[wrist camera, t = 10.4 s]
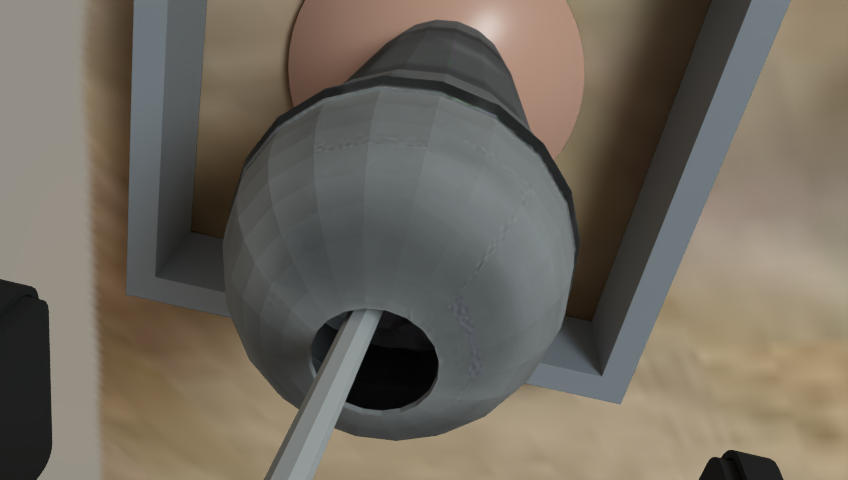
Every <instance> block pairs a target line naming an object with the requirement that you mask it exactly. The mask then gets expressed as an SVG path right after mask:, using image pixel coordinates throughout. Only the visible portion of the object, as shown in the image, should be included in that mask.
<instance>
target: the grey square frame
mask: <svg viewBox="0 0 848 480" xmlns="http://www.w3.org/2000/svg"><path fill="white" fill-rule="evenodd" d="M790 1H791V0H712V1H711V4H710V6H709V9H708V12H707V14H706V17H705V20H704V22H703V25H702V28H701V30H700V33H699V36H698V38H697V41H696V44H695V46H694V49H693V52H692V54H691V57H690V60H689V63H688V65H687V68H686V71H685V73H684V76H683V79H682V81H681V84H680V87H679V89H678V92H677V95H676V97H675V100H674V103H673V105H672V108H671V111H670V113H669V116H668V119H667V121H666V124H665V127H664V129H663V132H662V135H661V137H660V140H659V143H658V145H657V148H656V151H655V153H654V156H653V159H652V161H651V164H650V167H649V169H648V172H647V175H646V178H645V180H644V183H643V186H642V188H641V191H640V194H639V196H638V199H637V202H636V204H635V207H634V210H633V212H632V215H631V218H630V220H629V223H628V226H627V228H626V231H625V234H624V236H623V239H622V242H621V244H620V247H619V250H618V252H617V255H616V258H615V260H614V263H613V266H612V268H611V271H610V274H609V276H608V279H607V282H606V285H605V287H604V290H603V293H602V295H601V298H600V301H599V303H598V306H597V309H596V311H595V314H594V317H593V319H592V322H591V321H587V320H582V319H578V318H573V317H569V316H565V315H564V319H563V322H562V326H561V328H560V330H559V332H558V333H557V335H556V337H555V338H554V340H553V342H552V343H551V345H550V347H549V348H548V350H547V352H546V353H545V355H544V357H543V358H542V360H541V362H540V363H539V365H538V367H537V368H536V370H535V371H534V373H533V374H532V376H531V377H530V379H529V380H528V381H527V382H526V384H531V385H535V386H540V387H544V388H549V389H553V390H558V391H562V392H567V393H571V394H576V395H580V396H585V397H589V398H594V399H598V400H603V401H607V402H612V403H616V404H621V402H622V400H623V397H624V395H625V393H626V390H627V388H628V385H629V383H630V381H631V378H632V376H633V374H634V371H635V369H636V366H637V364H638V362H639V359H640V357H641V355H642V352H643V350H644V347H645V345H646V343H647V340H648V338H649V336H650V333H651V331H652V328H653V326H654V324H655V321H656V319H657V317H658V314H659V312H660V309H661V307H662V305H663V302H664V300H665V298H666V295H667V293H668V290H669V288H670V286H671V283H672V281H673V279H674V276H675V274H676V271H677V269H678V267H679V264H680V262H681V260H682V257H683V255H684V253H685V250H686V248H687V245H688V243H689V241H690V238H691V236H692V234H693V231H694V229H695V226H696V224H697V222H698V219H699V217H700V215H701V212H702V210H703V207H704V205H705V203H706V200H707V198H708V196H709V193H710V191H711V188H712V186H713V184H714V181H715V179H716V177H717V174H718V172H719V169H720V167H721V165H722V162H723V160H724V158H725V155H726V153H727V150H728V148H729V146H730V143H731V141H732V139H733V136H734V134H735V131H736V129H737V127H738V124H739V122H740V120H741V117H742V115H743V113H744V110H745V108H746V105H747V103H748V101H749V98H750V96H751V94H752V91H753V89H754V86H755V84H756V82H757V79H758V77H759V75H760V72H761V70H762V67H763V65H764V63H765V60H766V58H767V56H768V53H769V51H770V48H771V46H772V44H773V41H774V39H775V37H776V34H777V32H778V29H779V27H780V25H781V22H782V20H783V18H784V15H785V13H786V10H787V8H788V6H789V3H790ZM206 6H207V0H134V14H133V52H132V90H131V128H130V166H129V204H128V242H127V280H126V295H130V296H135V297H139V298H144V299H148V300H153V301H157V302H162V303H166V304H171V305H175V306H180V307H184V308H189V309H193V310H198V311H202V312H207V313H211V314H216V315H220V316H225V317H229V318H232V317H231V315H230V313H229V310H228V308H227V303H226V292H225V277H224V261H223V240H224V239H221V238H216V237H212V236H207V235H203V234H199V233H194V232H191V220H192V205H193V191H194V177H195V163H196V148H197V134H198V120H199V106H200V91H201V77H202V63H203V49H204V35H205V20H206ZM433 20H447V21H458V22H461V23H463V24H465V25H468V26H470V27H472V28H474V29H477V30H479V31H480V32H481V33H482V34H483V35H484V36H485V37H487V38H488V39H489V40H490V41H491V42H492V43H493V44H494V45H495V46H496V48H497V50H498V52H499V53H500V55H501V57H502V59H503V60H504V62H505V64H506V66H507V68H508V69H509V71H510V73H511V75H512V78H513V81H514V84H515V87H516V89H517V92H518V95H519V98H520V101H521V104H522V107H523V110H524V112H525V115H526V118H527V121H528V124H529V127H530V130H531V131H532V133H533V134H534V135H535V136H536V137H537V138H538V139H539V140H540V141H542V142H543V143H544V145H545V146H546V148H547V150H548V151H549V153H550V155H551V157H552V158H553V160H555V159H556V157H557V156H558V155H559V153H560V152H561V151H562V149H563V147H564V146H565V144H566V142H567V140H568V138H569V136H570V135H571V133H572V130H573V128H574V125H575V122H576V120H577V117H578V114H579V110H580V106H581V102H582V98H583V89H584V79H585V73H584V55H583V49H582V43H581V38H580V35H579V31H578V28H577V25H576V22H575V19H574V17H573V14H572V12H571V10H570V8H569V6H568V4H567V2H566V0H305V2H304V4H303V6H302V8H301V10H300V12H299V14H298V17H297V20H296V23H295V26H294V29H293V33H292V38H291V44H290V49H289V64H288V72H289V85H290V92H291V96H292V101H293V106H294V107H296V106H297V105H299V104H301V103H302V102H304V101H305V100H307V99H309V98H310V97H312V96H313V95H315V94H317V93H318V92H320V91H322V90H323V89H325V88H329V87H333V86H338V85H341V84H343V83H344V82H345V81H346V80H347V79H348V78H350V77H351V76H352V75H353V74H354V73H355V72H356V71H357V70H358V69H359V68H360V67H361V66H362V65H364V64H365V63H366V62H367V61H368V60H369V59H370V58H371V57H372V56H373V55H374V54H375V53H376V52H378V51H379V50H380V49H381V48H382V47H383V46H384V45H385V44H386V43H387V42H389V41H390V40H392V39H394V38H395V37H397V36H398V35H400V34H401V33H403V32H404V31H406V30H408V29H409V28H411V27H413V26H414V25H416V24H420V23H424V22H428V21H433Z"/></svg>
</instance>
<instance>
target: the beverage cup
mask: <svg viewBox="0 0 848 480" xmlns="http://www.w3.org/2000/svg"><path fill="white" fill-rule="evenodd" d="M579 246H580V236H579V231H578V225H577V219H576V214H575V208H574V203H573V197H572V191H571V189H570V188H569V186H568V184H567V182H566V181H565V179H564V177H563V176H562V174H561V172H560V170H559V169H558V167H557V165H556V164H555V162H554V160H553V158H552V157H551V155H550V153H549V151H548V150H547V148H546V146H545V145H544V143H543V142H542V141H540V140H539V139H538V138H537V137H536V136H535V135H534V134H533V133H532V131H531V130H530V127H529V124H528V121H527V118H526V115H525V112H524V110H523V107H522V104H521V101H520V98H519V95H518V92H517V89H516V87H515V84H514V81H513V78H512V75H511V73H510V71H509V69H508V68H507V66H506V64H505V62H504V60H503V59H502V57H501V55H500V53H499V52H498V50H497V48H496V46H495V45H494V44H493V43H492V42H491V41H490V40H489V39H488V38H487V37H485V36H484V35H483V34H482V33H481V32H480V31H479V30H477V29H474V28H472V27H470V26H468V25H465V24H463V23H461V22H458V21H447V20H433V21H428V22H424V23H420V24H416V25H414V26H413V27H411V28H409V29H408V30H406V31H404V32H403V33H401V34H400V35H398V36H397V37H395V38H394V39H392V40H390V41H389V42H387V43H386V44H385V45H384V46H383V47H382V48H381V49H380V50H379V51H378V52H376V53H375V54H374V55H373V56H372V57H371V58H370V59H369V60H368V61H367V62H366V63H365V64H364V65H362V66H361V67H360V68H359V69H358V70H357V71H356V72H355V73H354V74H353V75H352V76H351V77H350V78H348V79H347V80H346V81H345V82H344V83H343V84H341V85H338V86H333V87H329V88H325V89H323V90H322V91H320V92H318V93H317V94H315V95H313V96H312V97H310V98H309V99H307V100H305V101H304V102H302V103H301V104H299V105H297V106H296V107H294V108H292V109H291V110H289V111H288V112H286V113H284V114H283V115H281V116H279V117H278V118H277V119H276V120H275V122H274V123H273V124H272V126H271V127H270V128H269V129H268V131H267V132H266V133H265V134H264V136H263V137H262V138H261V140H260V141H259V142H258V143H257V145H256V146H255V147H254V148H253V150H252V151H251V152H250V154H249V155H248V156H247V157H246V159H245V162H244V166H243V169H242V172H241V175H240V178H239V182H238V185H237V188H236V191H235V195H234V198H233V201H232V204H231V210H230V217H229V220H228V223H227V227H226V230H225V235H224V240H223V261H224V277H225V292H226V303H227V308H228V310H229V313H230V315H231V317H232V320H233V322H234V324H235V327H236V329H237V331H238V334H239V336H240V339H241V341H242V343H243V346H244V348H245V350H246V353H247V355H248V357H249V360H250V361H251V362H252V363H253V364H254V366H255V367H256V368H257V369H258V370H259V371H260V373H261V374H262V375H263V376H264V377H265V379H266V380H267V381H268V382H269V383H270V384H271V386H272V387H273V388H274V389H275V390H276V392H277V393H278V394H279V395H280V396H281V397H283V398H284V399H285V400H286V401H288V402H289V403H291V404H292V405H294V406H295V407H296V408H298V409H299V411H298V413H297V415H296V417H295V419H294V421H293V423H292V425H291V427H290V429H289V431H288V433H287V435H286V437H285V439H284V441H283V443H282V445H281V447H280V449H279V451H278V453H277V455H276V457H275V459H274V461H273V463H272V465H271V467H270V469H269V471H268V473H267V475H266V476H265V478H264V480H312V479H313V477H314V474H315V472H316V470H317V467H318V465H319V462H320V460H321V458H322V455H323V453H324V451H325V448H326V446H327V443H328V441H329V439H330V436H331V434H332V432H333V429H334V428H335V429H338V430H341V431H344V432H346V433H349V434H352V435H354V436H360V437H369V438H377V439H386V440H394V441H398V440H406V439H414V438H422V437H430V436H437V435H440V434H443V433H446V432H449V431H451V430H453V429H456V428H458V427H461V426H463V425H465V424H468V423H470V422H473V421H475V420H477V419H480V418H482V417H485V416H486V415H487V414H488V413H490V412H491V411H492V410H493V409H494V408H496V407H497V406H498V405H499V404H500V403H502V402H503V401H504V400H505V399H506V398H508V397H509V396H510V395H511V394H512V393H514V392H515V391H516V390H517V389H518V388H520V387H521V386H522V385H523V384H525V383H526V382H527V381H528V380H529V379H530V377H531V376H532V374H533V373H534V371H535V370H536V368H537V367H538V365H539V363H540V362H541V360H542V358H543V357H544V355H545V353H546V352H547V350H548V348H549V347H550V345H551V343H552V342H553V340H554V338H555V337H556V335H557V333H558V332H559V330H560V328H561V326H562V322H563V319H564V315H565V312H566V306H567V301H568V298H569V295H570V292H571V289H572V284H573V279H574V273H575V268H576V262H577V257H578V252H579Z"/></svg>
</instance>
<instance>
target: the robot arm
mask: <svg viewBox="0 0 848 480" xmlns="http://www.w3.org/2000/svg"><path fill="white" fill-rule="evenodd" d="M49 346H50V344H49V310H48V305H47V303H46V302H45V301H43V300H40V299H39V298H38V293H37V291H36V289H35V288H33V287H31V286H27V285H23V284H18V283H14V282H10V281H6V280H1V279H0V480H37V478H38V477H39V476H40V474H41V473H42V471H43V470H44V468H45V466H46V464H47V462H48V460H49V457H50V454H51V449H52V420H51V419H52V418H51V384H50V383H51V381H50V347H49ZM699 480H783V477H782V475H781V473H780V470H779V468H778V466H777V465H776V463H775V462H774V461H773V460H771V459H769V458H765V457H760V456H756V455H752V454H747V453H743V452H739V451H735V450H728V451H727V452H725V453H724V454H723V456H722V457H721V458H718V457H713V458H711V459H710V460H709V462H708V463H707V465H706V467H705V469H704V471H703V473H702V475H701V477H700V478H699Z"/></svg>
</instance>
